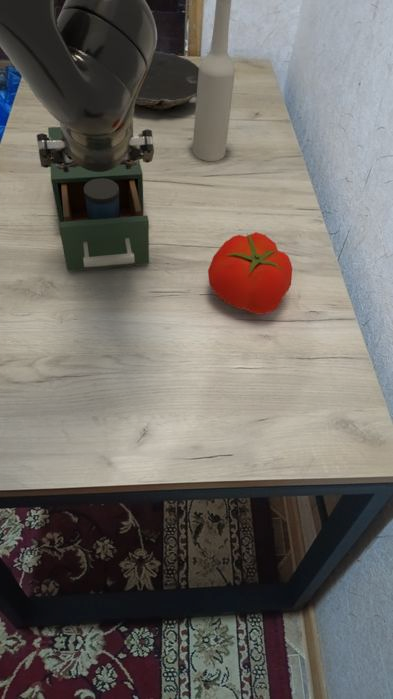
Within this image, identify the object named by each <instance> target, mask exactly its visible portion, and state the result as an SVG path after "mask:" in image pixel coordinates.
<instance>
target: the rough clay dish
mask: <svg viewBox="0 0 393 699" xmlns="http://www.w3.org/2000/svg"><path fill="white" fill-rule="evenodd" d="M198 73H199V66H198V65H197V64H196V63H194V62H193V61H191V60H189V59H188V58H185V57H183V56H182V57H181V56H179V55H178V54H175V53H166V52H162V51H155V54H154V56H153V59H152V61H151V64H150V67H149V69H148V71H147V74H146V76H145V78H144V81H143V83H142V85H141V88H140V90H139V92H138V95H137V98H136V102H135V105H136V106H142V107H148V108H150V109H153V110H156V111H160V112H161V111H166V110H168V109H179V108H180V107H182V106H183V105H185V104H187V103H188V102H189V101H191V100H192V99H193V98H194V97H196V96H197V86H198Z"/></svg>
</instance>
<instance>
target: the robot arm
mask: <svg viewBox="0 0 393 699" xmlns="http://www.w3.org/2000/svg"><path fill="white" fill-rule="evenodd" d="M157 45H158V30H157V25H156V20H155V17H154V15H153V13H152V10H151V9H150V6H149V5H148V3H147V1H146V0H65V1H64V3H63V6H62V8H61V11H60V13H59V15H58V17H57V0H0V48H1V50H2V51H3V52H4V53H5V55H6V57H7V58H8V59H9V60H10V62H12V64H13V66H14V67H15V69H16V70H17V71H18V73H19V74H20V76H21V78H23V81H24V82H25V83H26V84H27V86H28V87H29V90H31V92H32V93H33V94H34V96H35V97H36V99H37V100H38V101H39V103H40V104H41V105H42V106H43V107H44V109H46V111H47V112H48V113H49V114H50V115H51V116H52V117H53V118H54V119H56V121H58V123H59V127H61V135H62V137H61V139H60V141H52V139H51V137H49V136H48V134H46V133H38V134H36V141H37V148H38V149H37V150H38V156H39V161H40V166H41V168H46V169H48V168H50V166H51V163H54V164H56V167H58V169H63V171H64V172H69V168H68V167H77V166H81V167H82V168H84V169H87V170H89V171H94V172H104V171H108V170H111V169H113V168H115V167H116V166H118V165H124V164H125V167H126V169H131V167H132V166H134V165H136V164H137V163H138V160H139V161H140V160H142V162H143V163H146V164H147V163H150V162H152V161H153V158H154V154H155V148H154V138H153V137H154V136H153V130H151V129H148V128H147V129H144V130H142V131H141V133H138V134H137V136H134V115H135V108H136V107H135V106H136V104H135V102H136V98H137V95H138V92H139V90H140V88H141V85H142V83H143V81H144V78H145V76H146V74H147V71H148V69H149V67H150V64H151V61H152V59H153V56H154V54H155V52H156V50H157ZM132 136H133V137H134V138H132Z"/></svg>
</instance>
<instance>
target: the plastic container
mask: <svg viewBox="0 0 393 699" xmlns="http://www.w3.org/2000/svg"><path fill="white" fill-rule="evenodd" d="M84 195H85V198H86V206H87V214H88V220H93V219H107V218H120V209H119V187H118V185H117V183H115V182H114V181H112V180H110V179H105V178H98V179H93V180H91V181H89V182H87V183H86V184H85V186H84Z"/></svg>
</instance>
